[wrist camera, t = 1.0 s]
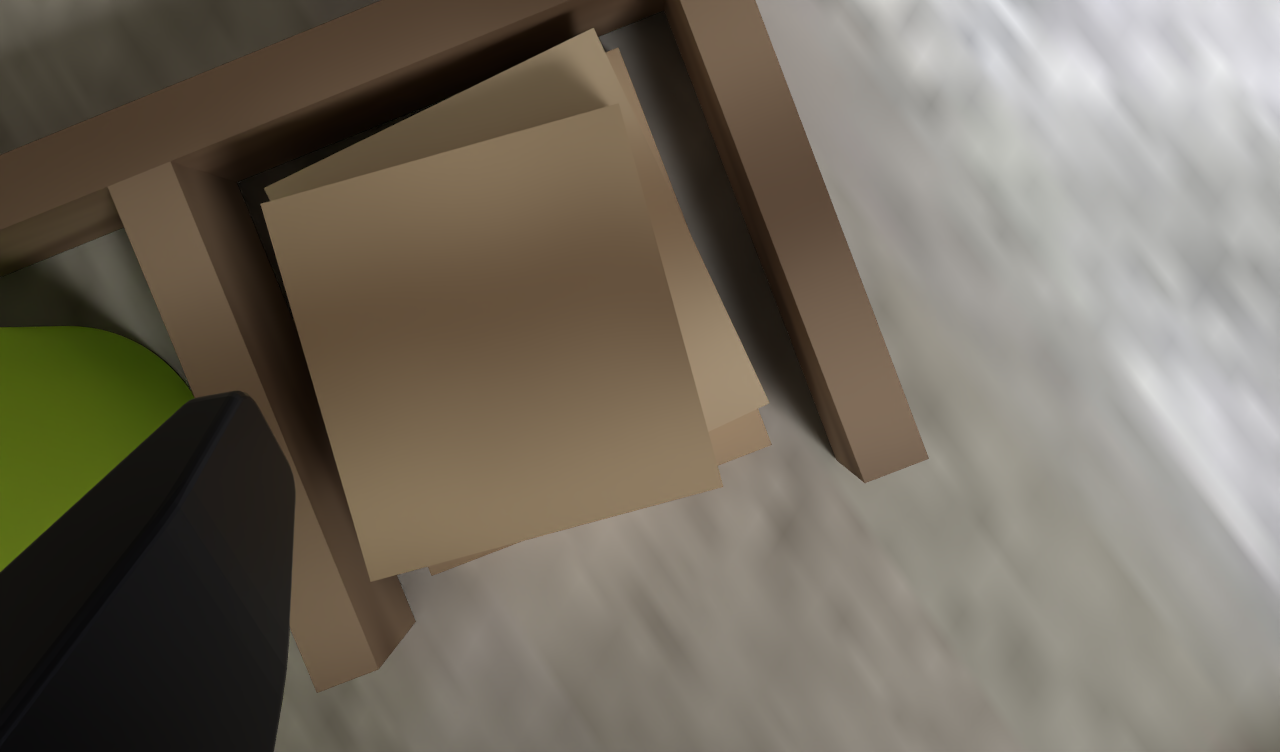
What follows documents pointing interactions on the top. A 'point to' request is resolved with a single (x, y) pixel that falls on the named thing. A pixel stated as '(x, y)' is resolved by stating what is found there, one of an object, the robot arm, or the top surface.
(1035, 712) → the top surface
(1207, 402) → the top surface
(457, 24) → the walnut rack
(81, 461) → the soap dispenser
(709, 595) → the top surface
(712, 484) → the offcut stack
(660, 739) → the top surface
